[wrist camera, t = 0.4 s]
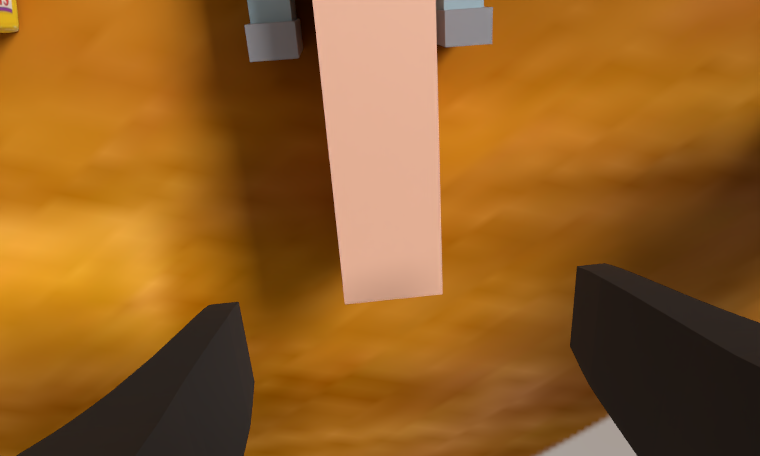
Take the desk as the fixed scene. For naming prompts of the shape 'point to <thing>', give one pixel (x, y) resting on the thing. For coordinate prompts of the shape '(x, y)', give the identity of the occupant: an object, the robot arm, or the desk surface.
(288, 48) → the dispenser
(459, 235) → the desk surface
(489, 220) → the desk surface
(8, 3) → the candy box
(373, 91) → the salmon pink block
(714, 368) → the robot arm
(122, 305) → the desk surface
